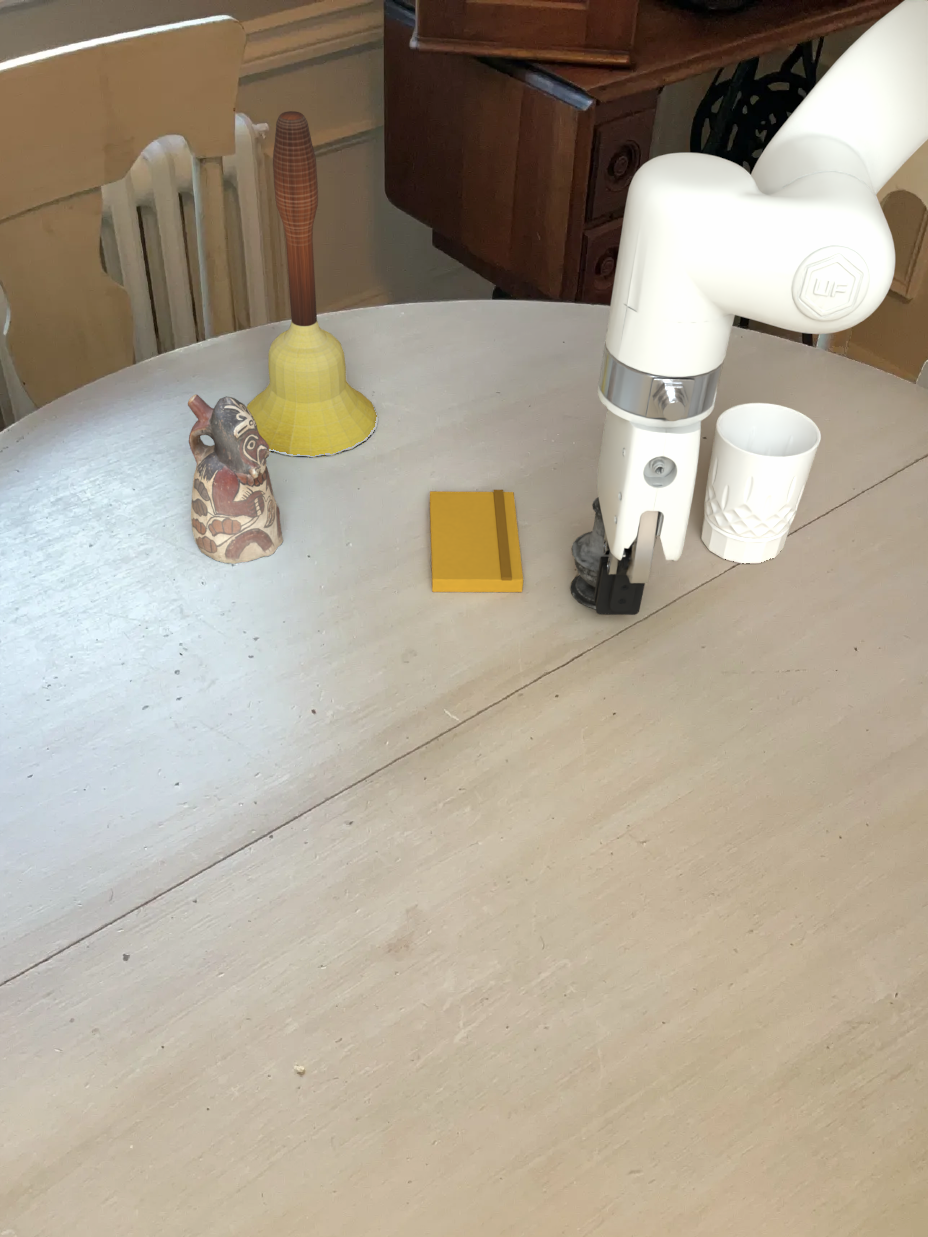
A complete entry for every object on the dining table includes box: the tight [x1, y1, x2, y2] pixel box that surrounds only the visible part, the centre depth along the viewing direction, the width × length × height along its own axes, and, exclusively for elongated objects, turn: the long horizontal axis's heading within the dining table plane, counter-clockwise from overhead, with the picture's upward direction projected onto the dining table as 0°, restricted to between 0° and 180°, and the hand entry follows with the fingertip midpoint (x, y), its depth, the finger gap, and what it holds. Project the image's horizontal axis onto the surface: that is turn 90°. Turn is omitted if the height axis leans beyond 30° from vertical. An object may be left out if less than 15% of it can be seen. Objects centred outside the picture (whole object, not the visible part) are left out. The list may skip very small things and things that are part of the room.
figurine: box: [187, 394, 284, 565], centre depth 97 cm, size 7×7×12 cm
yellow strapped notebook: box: [429, 489, 524, 593], centre depth 101 cm, size 12×7×1 cm, turn 2°
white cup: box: [700, 402, 822, 564], centre depth 99 cm, size 8×8×10 cm
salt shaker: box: [570, 497, 609, 610], centre depth 94 cm, size 6×6×12 cm
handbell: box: [246, 110, 378, 456], centre depth 104 cm, size 12×12×25 cm
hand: (615, 607), depth 94 cm, fingers closed
